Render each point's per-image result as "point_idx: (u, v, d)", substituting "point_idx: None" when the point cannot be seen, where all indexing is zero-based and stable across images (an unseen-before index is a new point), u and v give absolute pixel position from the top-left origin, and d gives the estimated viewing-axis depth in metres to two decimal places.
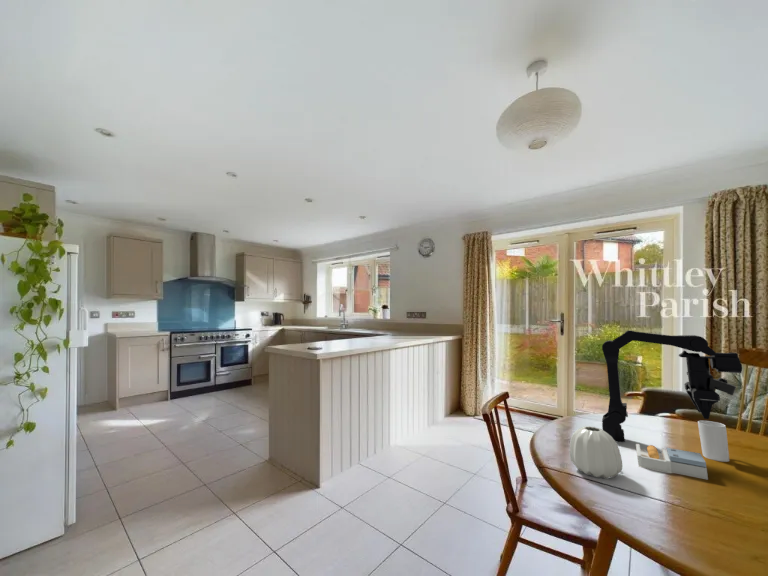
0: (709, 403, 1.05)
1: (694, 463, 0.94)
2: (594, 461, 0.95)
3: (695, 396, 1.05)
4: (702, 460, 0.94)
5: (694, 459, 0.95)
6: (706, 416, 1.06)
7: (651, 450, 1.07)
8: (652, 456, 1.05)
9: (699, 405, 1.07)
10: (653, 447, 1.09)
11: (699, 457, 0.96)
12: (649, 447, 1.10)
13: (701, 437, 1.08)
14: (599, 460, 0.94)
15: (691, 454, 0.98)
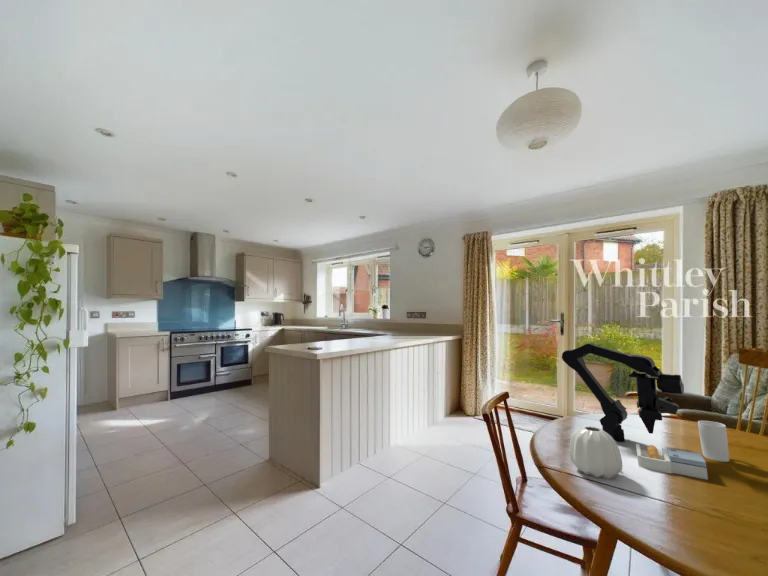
0: (652, 419, 1.15)
1: (694, 463, 0.94)
2: (594, 461, 0.95)
3: (640, 416, 1.11)
4: (702, 460, 0.94)
5: (694, 459, 0.95)
6: (650, 430, 1.15)
7: (651, 450, 1.07)
8: (652, 456, 1.05)
9: (644, 421, 1.16)
10: (653, 447, 1.09)
11: (699, 457, 0.96)
12: (649, 447, 1.10)
13: (701, 437, 1.08)
14: (599, 460, 0.94)
15: (691, 454, 0.98)
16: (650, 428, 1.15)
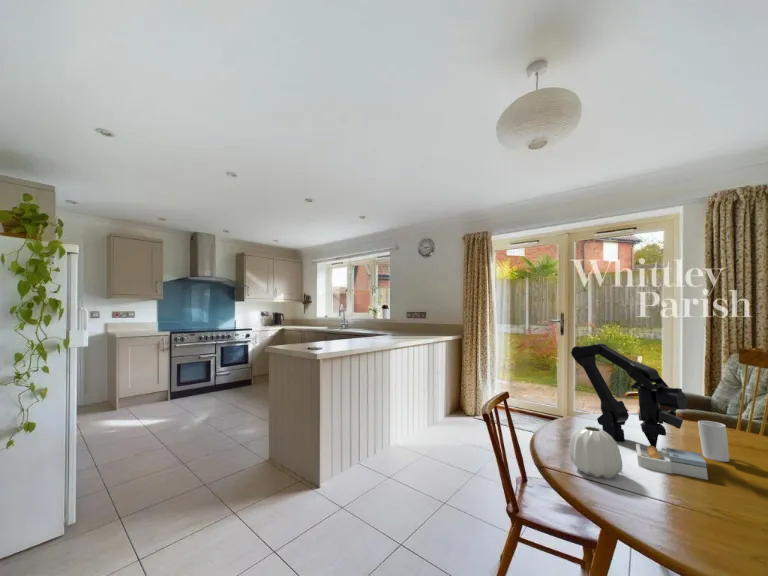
0: (656, 433, 1.10)
1: (694, 463, 0.94)
2: (594, 461, 0.95)
3: (643, 430, 1.07)
4: (702, 460, 0.94)
5: (694, 459, 0.95)
6: (654, 445, 1.11)
7: (651, 450, 1.07)
8: (652, 456, 1.05)
9: (647, 435, 1.12)
10: (653, 447, 1.09)
11: (699, 457, 0.96)
12: (649, 447, 1.09)
13: (701, 437, 1.08)
14: (599, 460, 0.94)
15: (691, 454, 0.98)
16: (653, 442, 1.11)
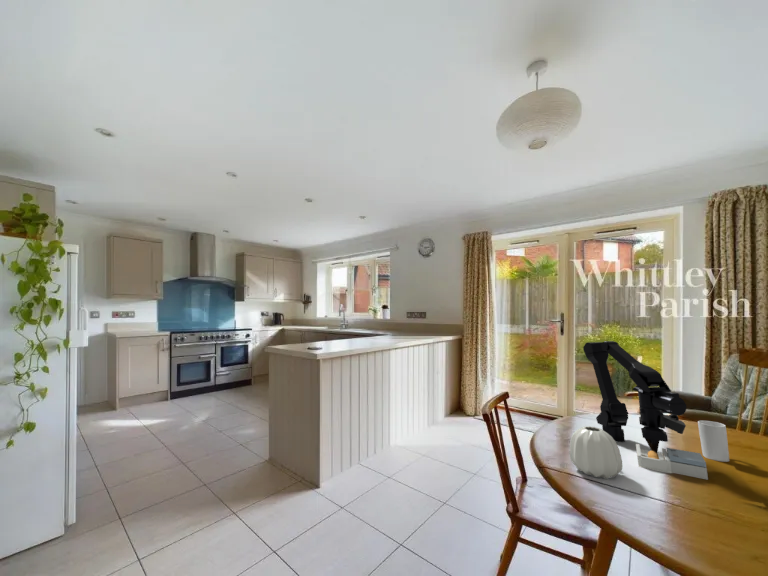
0: None
1: (694, 463, 0.94)
2: (594, 461, 0.95)
3: (644, 436, 1.02)
4: (702, 460, 0.94)
5: (694, 459, 0.95)
6: (655, 450, 1.07)
7: (652, 456, 1.02)
8: None
9: (647, 440, 1.07)
10: (654, 453, 1.04)
11: (699, 457, 0.96)
12: (650, 453, 1.05)
13: (701, 437, 1.08)
14: (599, 460, 0.94)
15: (691, 454, 0.98)
16: (654, 448, 1.06)
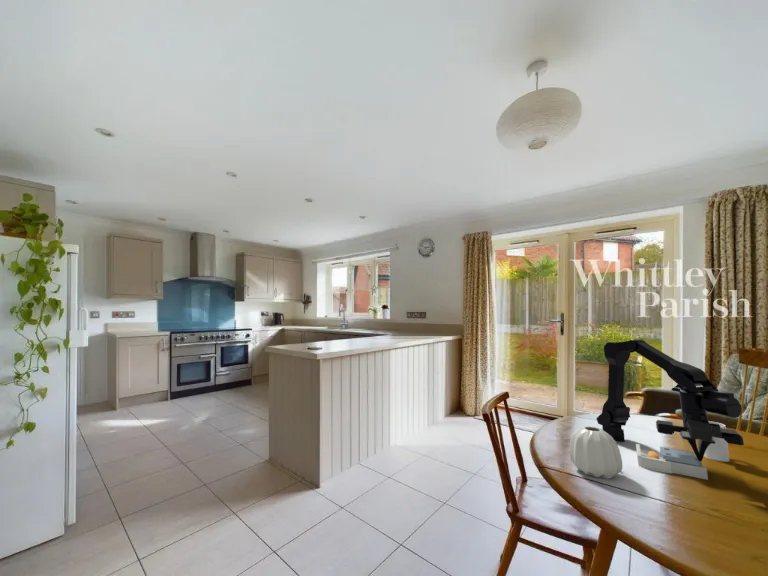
0: None
1: (687, 462, 0.95)
2: (594, 461, 0.95)
3: None
4: (694, 459, 0.95)
5: (687, 458, 0.96)
6: (696, 456, 0.97)
7: (652, 456, 1.02)
8: None
9: None
10: (654, 453, 1.04)
11: (692, 456, 0.97)
12: (650, 453, 1.05)
13: None
14: (599, 460, 0.94)
15: (684, 453, 0.99)
16: None
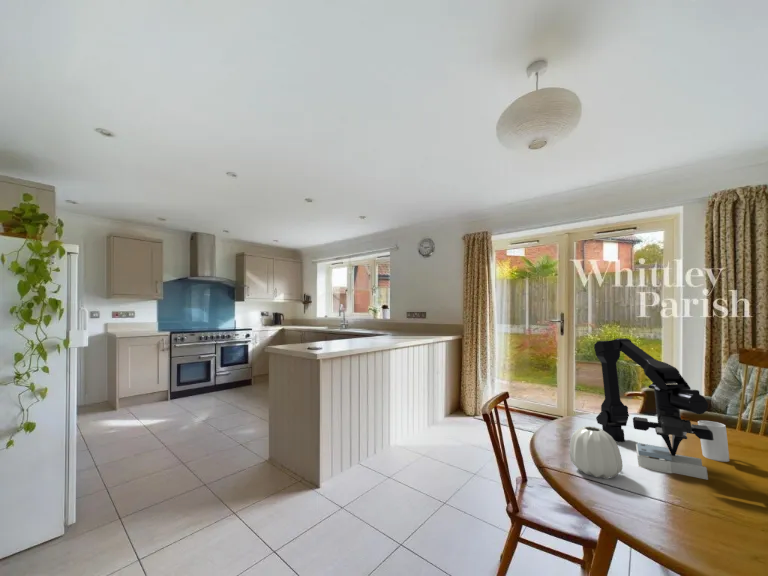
0: None
1: (660, 457, 0.99)
2: (594, 461, 0.95)
3: None
4: (668, 454, 0.99)
5: (661, 453, 0.99)
6: (670, 451, 1.00)
7: None
8: None
9: None
10: None
11: (666, 452, 1.00)
12: None
13: None
14: (599, 460, 0.94)
15: (659, 449, 1.02)
16: (668, 448, 1.01)
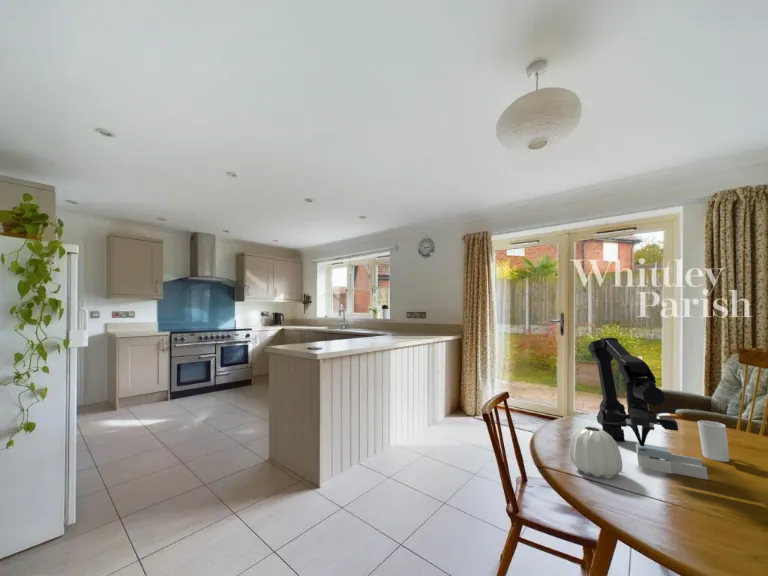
0: None
1: (660, 457, 0.99)
2: (594, 461, 0.95)
3: None
4: (668, 454, 0.99)
5: (660, 453, 0.99)
6: None
7: None
8: None
9: None
10: None
11: (666, 452, 1.00)
12: None
13: (701, 437, 1.08)
14: (599, 460, 0.94)
15: (659, 449, 1.02)
16: None
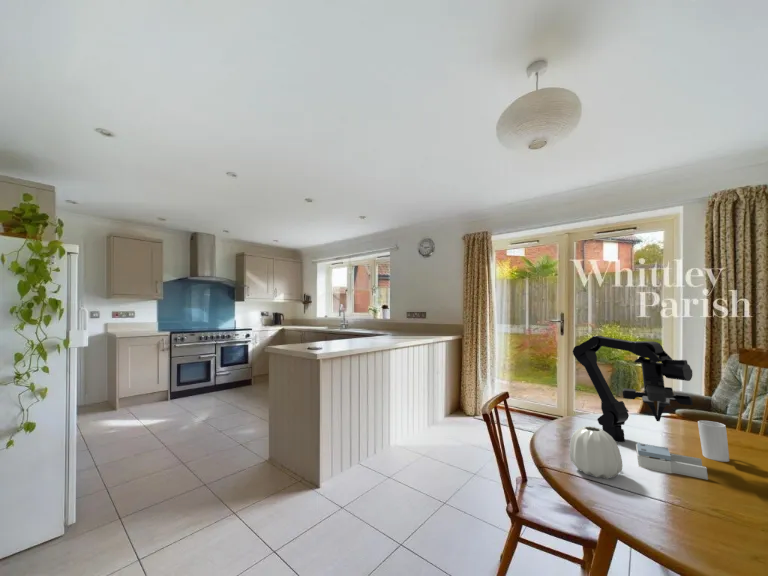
0: None
1: (660, 457, 0.99)
2: (594, 461, 0.95)
3: None
4: (668, 454, 0.99)
5: (660, 453, 0.99)
6: (655, 417, 1.12)
7: None
8: None
9: None
10: None
11: (666, 452, 1.00)
12: None
13: (701, 437, 1.08)
14: (599, 460, 0.94)
15: (659, 449, 1.02)
16: None
